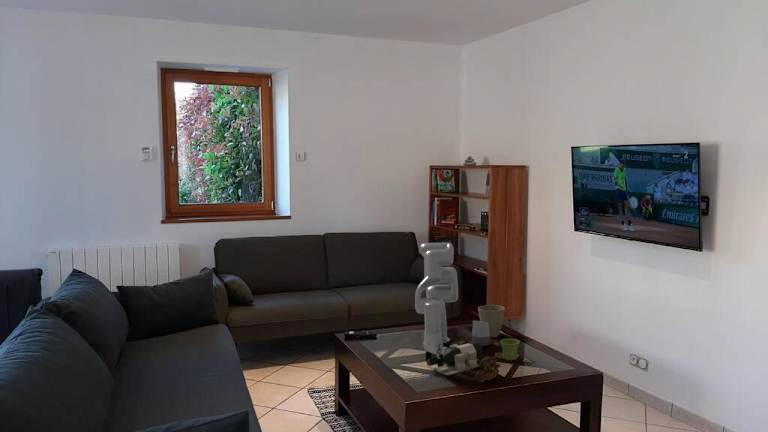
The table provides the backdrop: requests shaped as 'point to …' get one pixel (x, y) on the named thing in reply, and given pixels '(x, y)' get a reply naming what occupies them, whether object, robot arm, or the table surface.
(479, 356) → the wine bottle
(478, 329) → the smart speaker
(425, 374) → the table surface
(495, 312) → the plant pot
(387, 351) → the table surface
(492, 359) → the wooden carving
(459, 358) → the rest
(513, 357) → the plant pot
